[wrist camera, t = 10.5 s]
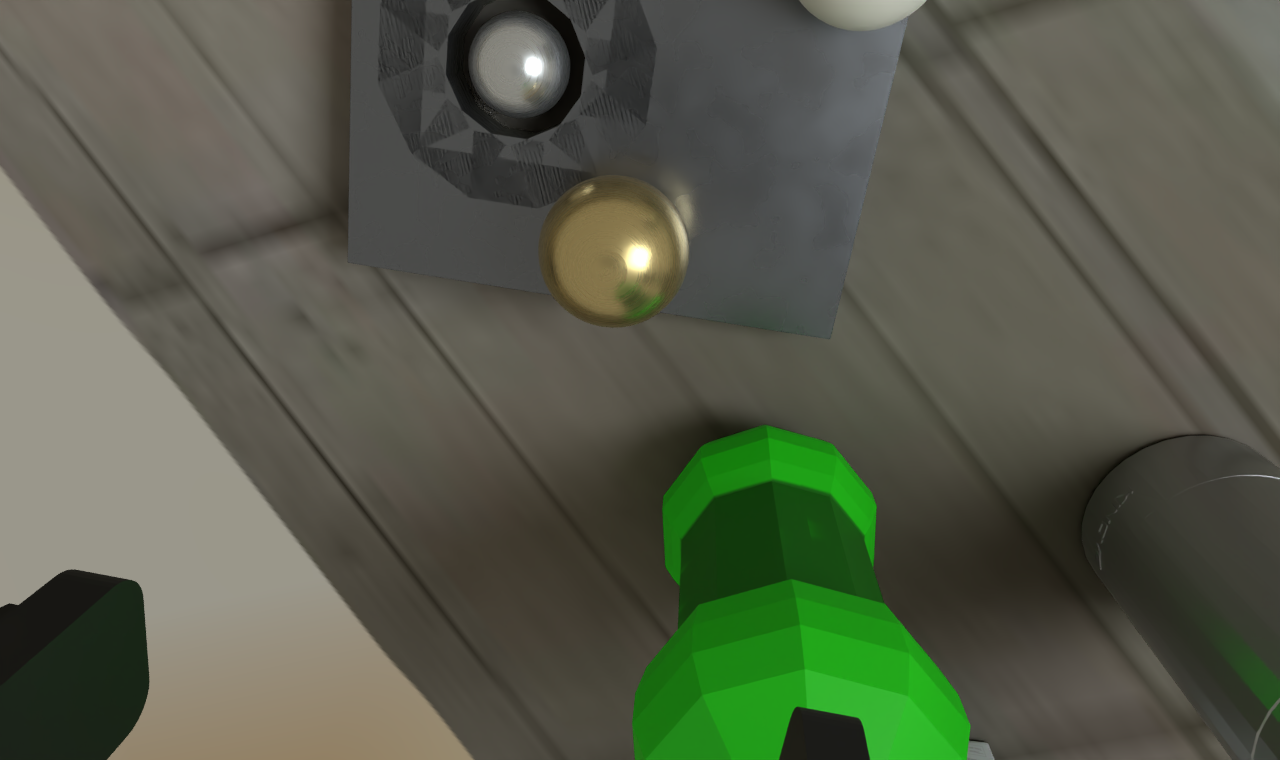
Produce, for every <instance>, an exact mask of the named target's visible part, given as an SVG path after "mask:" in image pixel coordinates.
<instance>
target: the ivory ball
mask: <svg viewBox="0 0 1280 760" xmlns="http://www.w3.org/2000/svg"><path fill="white" fill-rule="evenodd" d="M799 1H800V2H801V4H802V5H803V6H804V7H805V8H806V9H807V10H808V11H809V12H810V13H811V14H813V15H814V16H815V17H816V18H818V19H819V20H821V21H823V22H825V23H826V24H829V25H831V26H834V27H836V28H840V29H844V30H849V31H871V30H876V29H881V28H884V27H887V26H889V25H892V24H894V23H896V22H898V21H900V20H903V19H904V18H906V17H907V16H909V15H910V14H912V13H913V12H915V11H916V10H917V9H918V8H919V7H921V6H922V5H923V4H924V3H925V2H926V1H927V0H799Z"/></svg>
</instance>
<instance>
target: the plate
mask: <svg viewBox="0 0 1280 760" xmlns="http://www.w3.org/2000/svg"><path fill="white" fill-rule="evenodd" d="M493 1H495V0H352V23H351V88H350V153H349V219H348V263H354V264H360V265H366V266H372V267H379V268H385V269H391V270H398V271H404V272H410V273H416V274H423V275H429V276H435V277H442V278H448V279H454V280H460V281H467V282H473V283H479V284H486V285H492V286H498V287H504V288H511V289H517V290H523V291H530V292H536V293H542V294H548V295H552V294H551V293H550V291H549V290H548V288H547V286H546V284H545V282H544V279H543V276H542V274H541V269H540V265H539V256H538V243H539V237H540V232H541V229H542V226H543V223H544V221H545V219H546V216H547V214H548V212H549V211H550V209H551V208H552V206H553V205H554V204H555V202H556V201H557V200H558V199H559V198H560V197H561V196H562V195H563V194H564V193H565V192H566V191H568V190H569V189H571V188H572V187H574V186H575V185H577V184H579V183H581V182H583V181H585V180H588V179H591V178H594V177H598V176H604V175H622V176H628V177H633V178H636V179H639V180H642V181H644V182H646V183H648V184H650V185H652V186H653V187H655V188H656V189H658V190H659V191H661V192H662V193H663V194H664V195H665V196H666V197H667V198H668V199H669V200H670V201H671V202H672V204H673V205H674V206H675V208H676V209H677V211H678V212H679V214H680V216H681V218H682V220H683V222H684V225H685V228H686V232H687V236H688V242H689V262H688V267H687V272H686V275H685V278H684V280H683V283H682V285H681V287H680V289H679V291H678V293H677V294H676V295H675V297H674V298H673V299H672V301H671V302H670V303H669V304H668V305H667V306H666V307H665V308H664V309H663V310H661V311H660V312H661V313H668V314H674V315H680V316H687V317H693V318H699V319H705V320H712V321H718V322H724V323H731V324H737V325H743V326H749V327H756V328H762V329H768V330H775V331H781V332H787V333H793V334H800V335H806V336H812V337H819V338H825V339H830V338H831V334H832V330H833V326H834V322H835V317H836V313H837V309H838V305H839V301H840V297H841V293H842V288H843V284H844V280H845V276H846V272H847V268H848V264H849V260H850V255H851V251H852V247H853V243H854V239H855V235H856V231H857V226H858V222H859V218H860V214H861V210H862V206H863V202H864V198H865V193H866V189H867V185H868V181H869V177H870V173H871V169H872V164H873V160H874V156H875V152H876V148H877V144H878V140H879V136H880V131H881V127H882V123H883V119H884V115H885V111H886V107H887V102H888V98H889V94H890V90H891V86H892V82H893V78H894V74H895V69H896V65H897V61H898V57H899V53H900V49H901V45H902V40H903V36H904V32H905V28H906V24H907V20H908V16H907V17H906V18H904V19H903V20H900V21H898V22H896V23H894V24H892V25H889V26H887V27H884V28H881V29H876V30H871V31H849V30H844V29H840V28H836V27H834V26H831V25H829V24H826V23H825V22H823V21H821V20H819V19H818V18H816V17H815V16H814V15H813V14H811V13H810V12H809V11H808V10H807V9H806V8H805V7H804V6H803V5H802V4H801V2H800V1H799V0H548V1H549V2H550V3H552V4H553V5H554V6H555V7H556V8H558V9H559V10H560V11H561V12H562V13H564V14H565V15H566V16H567V17H568V18H570V19H571V22H572V24H573V27H574V29H575V32H576V35H577V37H578V40H579V42H580V45H581V47H582V50H583V52H584V55H585V64H584V73H583V82H582V91H581V96H580V98H579V99H578V101H577V102H576V103H575V105H574V106H573V107H572V109H571V110H570V112H569V113H568V114H567V116H566V117H565V119H564V120H563V121H562V123H560V124H558V125H556V126H553V127H551V128H548V129H546V130H544V131H541V132H539V133H535V132H529V131H523V130H516V129H510V128H504V127H503V126H502V125H501V124H499V123H498V122H497V121H496V120H494V119H493V118H492V117H491V116H489V115H488V114H487V113H486V112H484V111H483V110H482V109H481V108H479V107H478V106H477V104H476V102H475V100H474V98H473V95H472V93H471V91H470V88H469V86H468V84H467V82H466V79H465V77H464V75H463V73H462V69H463V53H464V37H465V34H466V33H467V31H468V30H469V28H470V27H471V25H472V23H473V22H474V20H475V19H476V17H477V16H478V14H479V13H480V11H481V10H482V8H483V6H484V5H487V4H489V3H491V2H493Z"/></svg>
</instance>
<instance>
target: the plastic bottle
mask: <svg viewBox="0 0 1280 760" xmlns="http://www.w3.org/2000/svg"><path fill="white" fill-rule="evenodd" d="M876 508H877V506H876V503H875V500H874V498H873V495H872V493H871V491H870V490H869V489H868V488H867V486H866V485H865V484H864V483H863V481H862V480H861V479H860V478H859V476H858V475H857V474H856V473H855V471H854V470H853V469H852V468H851V466H850V465H849V464H848V463H847V461H846V460H845V459H844V458H843V456H842V455H841V454H840V453H839V451H838V450H837V449H836V448H835V446H834V445H833V444H831V443H829V442H826V441H824V440H820V439H816V438H813V437H809V436H805V435H802V434H798V433H794V432H791V431H787V430H783V429H780V428H776V427H772V426H768V425H761V426H758V427H755V428H752V429H749V430H746V431H742V432H739V433H736V434H733V435H730V436H727V437H723V438H720V439H717V440H714V441H711V442H708V443H706V444H704V445H703V446H701V447H700V449H699V450H698V451H697V453H696V454H695V455H694V457H693V458H692V459H691V461H690V462H689V463H688V464H687V466H686V467H685V468H684V470H683V471H682V472H681V474H680V475H679V476H678V478H677V479H676V480H675V482H674V483H673V484H672V485H671V487H670V488H669V489H668V491H667V492H666V493H665V495H664V496H663V507H662V512H663V531H664V550H665V567H666V569H667V570H668V572H669V573H670V575H671V576H672V578H673V579H674V580H675V581H676V583H677V584H678V585H679V586H680V593H679V616H678V630H677V631H676V632H675V634H674V635H673V636H672V637H671V638H670V640H669V641H668V642H667V643H666V644H665V646H664V647H663V648H662V649H661V650H660V652H659V653H658V654H657V655H656V656H655V658H654V659H653V660H652V661H651V662H650V664H649V665H648V666H647V667H646V670H645V672H644V674H643V677H642V679H641V681H640V684H639V686H638V688H637V691H636V693H635V702H634V711H633V721H632V727H633V740H634V753H635V760H779V757H780V754H781V750H782V747H783V743H784V739H785V736H786V732H787V728H788V725H789V721H790V718H791V715H792V713H793V710H794V709H795V708H796V707H803V708H809V709H814V710H819V711H825V712H830V713H835V714H841V715H846V716H852V717H857V718H859V719H860V720H861V722H862V725H863V728H864V732H865V737H866V742H867V747H868V752H869V757H870V760H967V754H968V744H969V735H970V724H969V721H968V718H967V716H966V713H965V711H964V708H963V705H962V703H961V700H960V698H959V695H958V694H957V692H956V691H955V690H954V688H953V687H952V685H951V684H950V683H949V681H948V680H947V679H946V677H945V676H944V675H943V673H942V672H941V671H940V669H939V668H938V667H937V666H936V664H935V663H934V662H933V661H932V660H931V658H930V657H929V656H928V655H927V654H926V652H925V651H924V650H923V649H922V648H921V646H920V645H919V644H918V643H917V642H916V640H915V639H914V638H913V637H912V636H911V634H910V633H909V632H908V631H907V630H906V628H905V627H904V626H903V625H902V624H901V622H900V621H899V620H898V619H897V618H896V616H895V615H894V614H893V613H892V612H891V610H890V609H889V608H888V607H887V606H886V604H884V601H883V598H882V595H881V592H880V588H879V585H878V582H877V579H876V576H875V573H874V570H873V565H874V547H875V528H876Z"/></svg>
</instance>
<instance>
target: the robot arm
mask: <svg viewBox="0 0 1280 760" xmlns="http://www.w3.org/2000/svg"><path fill="white" fill-rule="evenodd" d="M1082 544H1083V548H1084V552H1085V556H1086V558H1087V560H1088V561H1089V563H1090V565H1091V567H1092V568H1093V570H1094V572H1095V573H1096V574H1097V576H1098V577H1099V578H1100V580H1101V581H1102V583H1103V584H1104V585H1105V587H1106V588H1107V589H1108V591H1109V592H1110V593H1111V595H1112V596H1113V598H1114V599H1115V600H1116V602H1117V603H1118V604H1119V606H1120V607H1121V609H1122V610H1123V611H1124V613H1125V614H1126V615H1127V617H1128V619H1129V620H1130V621H1131V623H1132V624H1133V625H1134V627H1135V628H1136V630H1137V631H1138V632H1139V634H1140V635H1141V636H1142V638H1143V639H1144V640H1145V642H1146V643H1147V645H1148V646H1149V647H1150V649H1151V650H1152V651H1153V653H1154V654H1155V655H1156V657H1157V658H1158V659H1159V661H1160V662H1161V664H1162V665H1163V666H1164V668H1165V669H1166V670H1167V672H1168V673H1169V674H1170V676H1171V677H1172V678H1173V680H1174V681H1175V683H1176V684H1177V685H1178V687H1179V688H1180V689H1181V691H1182V692H1183V693H1184V695H1185V696H1186V698H1187V699H1188V700H1189V702H1190V703H1191V704H1192V706H1193V707H1194V708H1195V710H1196V711H1197V712H1198V714H1199V715H1200V717H1201V718H1202V719H1203V721H1204V722H1205V723H1206V725H1207V726H1208V727H1209V729H1210V730H1211V731H1212V733H1213V734H1214V736H1215V737H1216V738H1217V740H1218V741H1219V742H1220V744H1221V745H1222V746H1223V748H1224V749H1225V751H1226V752H1227V753H1228V755H1229V756H1230V757H1231V759H1232V760H1280V468H1278V467H1277V466H1276V465H1274V464H1273V463H1271V462H1270V461H1269V460H1267V459H1266V458H1265V457H1263V456H1262V455H1260V454H1259V453H1258V452H1256V451H1255V450H1253V449H1252V448H1251V447H1249V446H1247V445H1244V444H1242V443H1239V442H1237V441H1234V440H1232V439H1228V438H1222V437H1216V436H1210V435H1208V436H1185V437H1180V438H1175V439H1170V440H1165V441H1162V442H1160V443H1157V444H1154V445H1152V446H1149V447H1146V448H1144V449H1142V450H1141V451H1139V452H1137V453H1135V454H1134V455H1132V456H1130V457H1129V458H1127V459H1125V460H1124V461H1123V462H1122V463H1120V464H1119V465H1118V466H1117V467H1116V468H1114V469H1113V470H1112V471H1111V472H1110V473H1109V474H1108V475H1107V476H1106V477H1105V478H1104V480H1103V481H1102V482H1101V483H1100V484H1099V486H1098V487H1097V488H1096V489H1095V491H1094V493H1093V495H1092V497H1091V499H1090V501H1089V503H1088V505H1087V507H1086V510H1085V514H1084V518H1083V522H1082ZM148 689H149V667H148V655H147V640H146V627H145V614H144V600H143V593H142V590H141V587H140V586H139V584H138V583H137V582H135V581H132V580H128V579H122V578H117V577H111V576H107V575H101V574H96V573H90V572H85V571H80V570H67V571H64V572H62V573H60V574H58V575H57V576H55V577H54V578H53V579H52V580H50V581H49V582H48V583H46V584H45V585H44V586H42V587H41V588H40V589H39V590H37V591H36V592H35V593H34V594H32V595H31V596H30V597H28V598H27V599H26V600H25V601H23V602H22V603H21V604H19V605H15V604H7V605H5V606H3V607H1V608H0V760H107V759H108V758H109V756H110V755H111V754H112V753H113V752H114V751H115V750H116V748H117V747H118V746H119V745H120V744H121V743H122V742H123V740H124V739H125V738H126V737H127V736H128V734H129V733H130V732H131V730H132V729H133V727H134V726H135V724H136V722H137V721H138V719H139V717H140V715H141V713H142V710H143V708H144V705H145V702H146V699H147V695H148ZM779 760H870V757H869V752H868V747H867V742H866V737H865V732H864V728H863V725H862V722H861V720H860V719H859V718H857V717H852V716H846V715H841V714H835V713H830V712H825V711H819V710H814V709H809V708H803V707H796V708H795V709H794V710H793V713H792V715H791V718H790V721H789V725H788V728H787V732H786V736H785V739H784V743H783V747H782V750H781V754H780V757H779Z"/></svg>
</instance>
